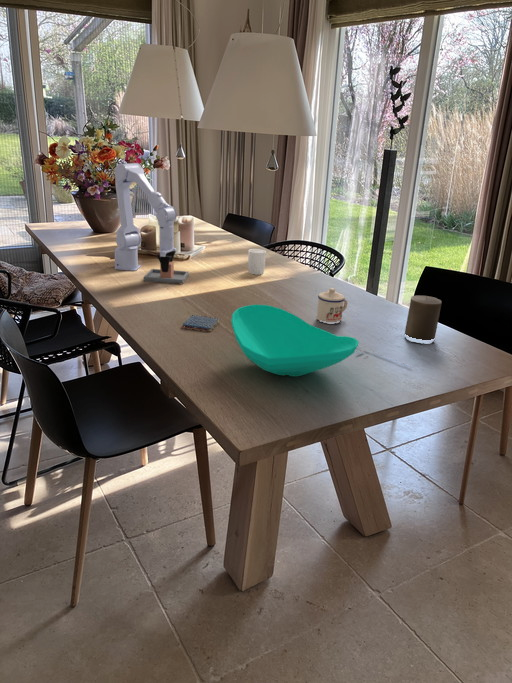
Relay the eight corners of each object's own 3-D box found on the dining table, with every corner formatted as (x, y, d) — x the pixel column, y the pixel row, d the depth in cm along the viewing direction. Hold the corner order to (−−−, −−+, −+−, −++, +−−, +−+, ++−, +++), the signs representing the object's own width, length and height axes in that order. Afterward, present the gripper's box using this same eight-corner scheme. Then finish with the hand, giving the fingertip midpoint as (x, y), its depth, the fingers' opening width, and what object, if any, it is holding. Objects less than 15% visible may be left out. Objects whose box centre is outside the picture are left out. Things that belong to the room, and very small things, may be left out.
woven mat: (220, 323, 188) (220, 317, 187) (211, 334, 178) (211, 328, 177) (190, 319, 190) (190, 313, 189) (180, 329, 180) (180, 324, 179)
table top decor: (205, 357, 159) (206, 314, 154) (275, 337, 177) (278, 297, 172) (306, 413, 133) (311, 363, 128) (376, 383, 150) (383, 337, 145)
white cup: (265, 271, 251) (267, 249, 247) (264, 276, 244) (265, 253, 240) (248, 270, 252) (249, 248, 248) (246, 274, 244) (247, 252, 241)
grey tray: (143, 281, 226) (143, 276, 226) (151, 272, 238) (151, 268, 238) (182, 284, 226) (182, 279, 225) (188, 275, 238) (188, 271, 237)
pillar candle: (429, 347, 177) (438, 302, 171) (399, 339, 181) (407, 295, 176) (437, 338, 184) (446, 295, 179) (409, 331, 189) (416, 289, 183)
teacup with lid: (326, 326, 189) (330, 294, 184) (310, 318, 196) (313, 286, 191) (353, 321, 195) (357, 290, 190) (336, 313, 202) (340, 282, 198)
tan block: (160, 277, 230) (160, 263, 228) (163, 275, 234) (163, 261, 232) (171, 278, 230) (171, 264, 227) (173, 275, 234) (173, 261, 231)
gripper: (172, 241, 219) (172, 275, 224) (179, 234, 232) (179, 266, 237) (154, 240, 219) (155, 273, 224) (163, 233, 232) (163, 265, 237)
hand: (166, 269), depth 231 cm, fingers open, 6 cm apart
